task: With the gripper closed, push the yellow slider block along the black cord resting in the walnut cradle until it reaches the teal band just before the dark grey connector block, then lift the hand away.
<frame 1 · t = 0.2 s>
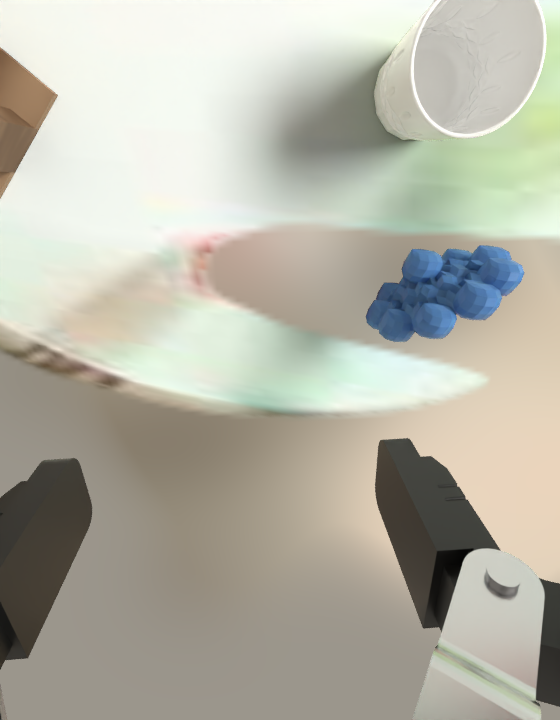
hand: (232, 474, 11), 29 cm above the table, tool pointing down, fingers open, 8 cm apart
white cup: (414, 93, 33), on the table
grapes: (405, 268, 38), on the table
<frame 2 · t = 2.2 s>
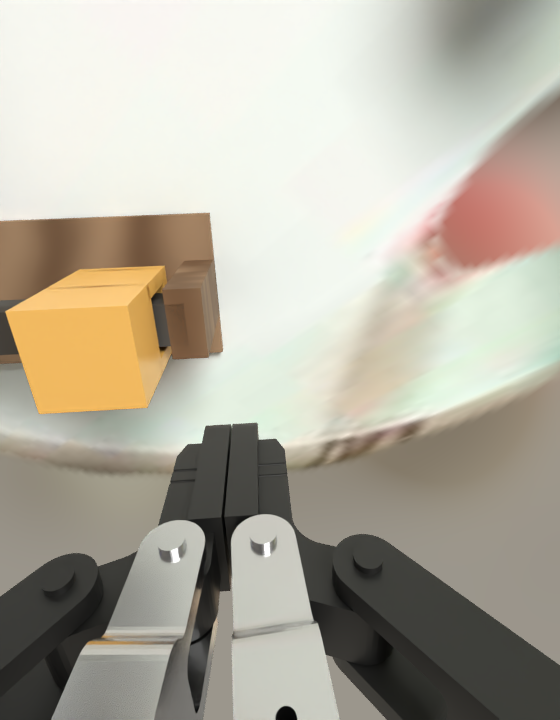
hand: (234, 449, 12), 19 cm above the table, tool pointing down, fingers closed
cord rig: (62, 292, 29), on the table
yellow slider block: (109, 330, 22), point 8 cm above the table, slide at 0.0 cm
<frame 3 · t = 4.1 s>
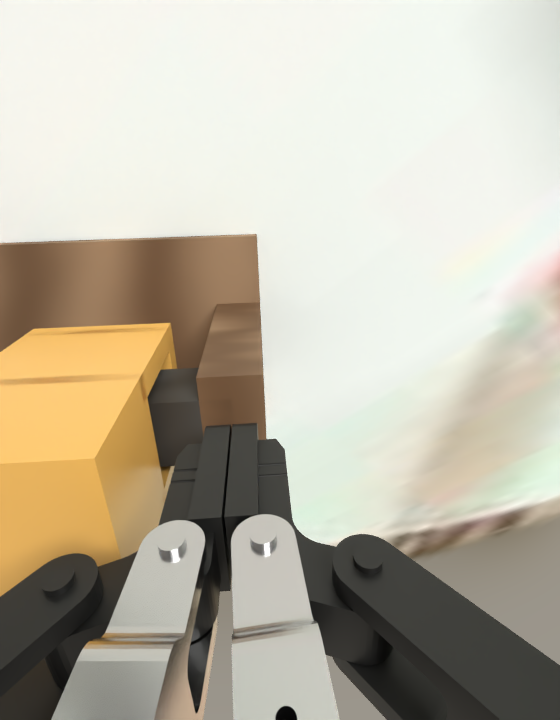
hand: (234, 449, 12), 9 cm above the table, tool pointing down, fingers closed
cord rig: (37, 347, 20), on the table
yellow slider block: (75, 446, 13), point 8 cm above the table, slide at 0.9 cm, touching gripper
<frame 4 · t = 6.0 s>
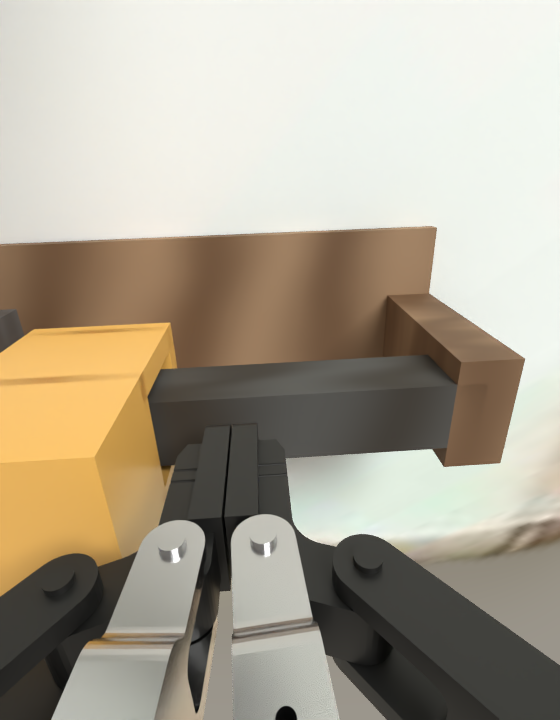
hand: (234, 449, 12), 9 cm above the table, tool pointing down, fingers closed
cord rig: (203, 339, 20), on the table
yellow slider block: (76, 446, 13), point 8 cm above the table, slide at 8.9 cm, touching gripper
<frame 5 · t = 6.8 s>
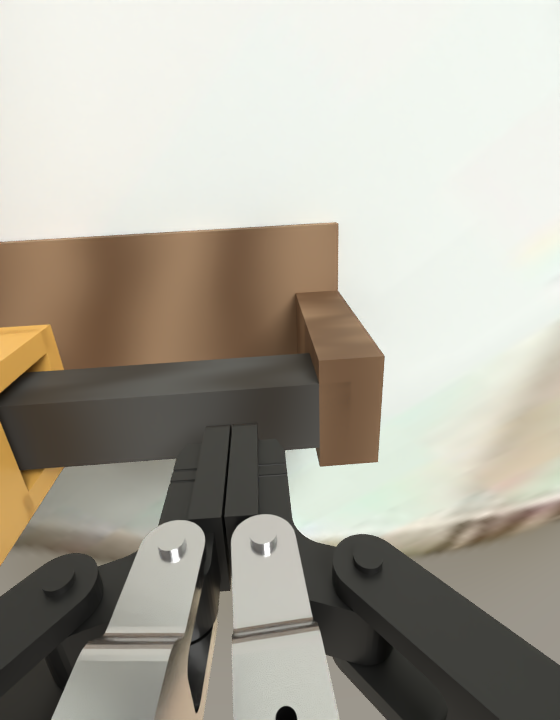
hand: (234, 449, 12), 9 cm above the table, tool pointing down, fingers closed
cord rig: (115, 340, 20), on the table
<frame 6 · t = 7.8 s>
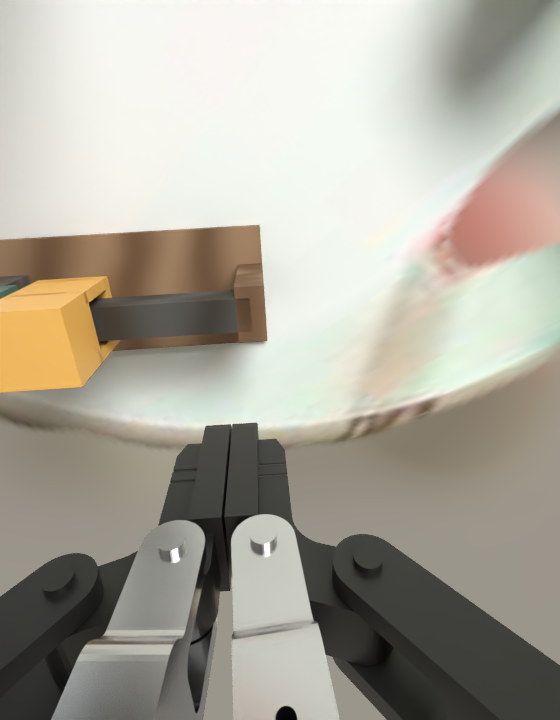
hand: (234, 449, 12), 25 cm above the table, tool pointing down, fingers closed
cord rig: (136, 292, 35), on the table
yellow slider block: (58, 328, 27), point 8 cm above the table, slide at 9.0 cm
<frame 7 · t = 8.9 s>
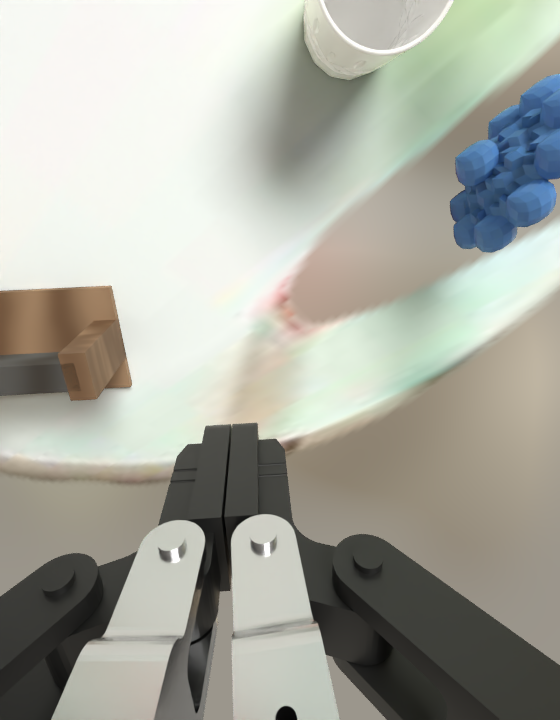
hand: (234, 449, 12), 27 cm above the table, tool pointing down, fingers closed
cord rig: (3, 343, 38), on the table
white cup: (347, 26, 30), on the table
grapes: (459, 169, 34), on the table
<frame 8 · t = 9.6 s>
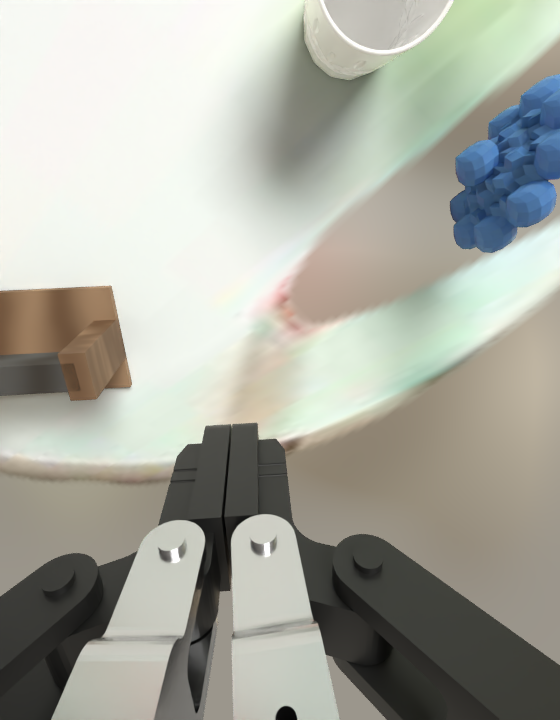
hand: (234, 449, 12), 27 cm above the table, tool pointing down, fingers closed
cord rig: (3, 343, 38), on the table
white cup: (347, 26, 30), on the table
grapes: (459, 169, 34), on the table
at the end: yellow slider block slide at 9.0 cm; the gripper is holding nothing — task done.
